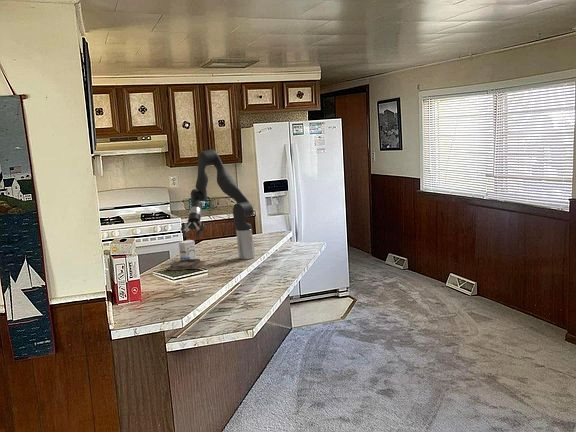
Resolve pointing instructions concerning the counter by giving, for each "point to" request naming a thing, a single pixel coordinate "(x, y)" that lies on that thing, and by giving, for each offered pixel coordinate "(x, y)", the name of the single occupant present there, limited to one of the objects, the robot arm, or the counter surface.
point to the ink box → (187, 249)
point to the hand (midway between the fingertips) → (190, 236)
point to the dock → (185, 264)
